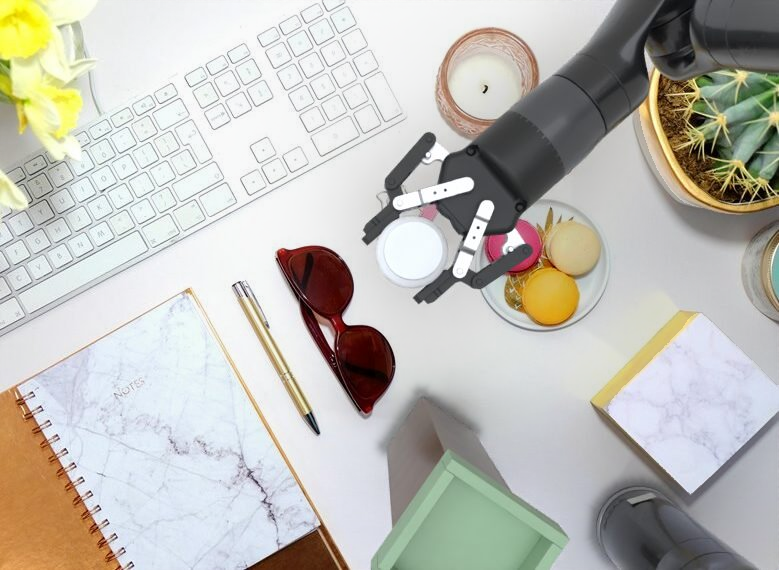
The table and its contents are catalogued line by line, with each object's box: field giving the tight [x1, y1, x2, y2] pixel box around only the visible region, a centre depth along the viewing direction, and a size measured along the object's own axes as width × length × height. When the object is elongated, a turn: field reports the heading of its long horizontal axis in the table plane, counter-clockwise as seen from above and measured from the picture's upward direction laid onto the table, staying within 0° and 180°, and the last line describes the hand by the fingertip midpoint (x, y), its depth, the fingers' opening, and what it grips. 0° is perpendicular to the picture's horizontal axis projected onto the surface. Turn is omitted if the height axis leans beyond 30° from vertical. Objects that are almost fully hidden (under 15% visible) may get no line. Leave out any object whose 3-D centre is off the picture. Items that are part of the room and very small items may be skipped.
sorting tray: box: [370, 449, 571, 570], centre depth 43 cm, size 9×9×3 cm
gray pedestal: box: [386, 396, 513, 530], centre depth 58 cm, size 7×7×28 cm
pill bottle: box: [375, 215, 449, 289], centre depth 56 cm, size 6×6×11 cm
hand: (390, 271), depth 56 cm, fingers closed on pill bottle, 6 cm apart
